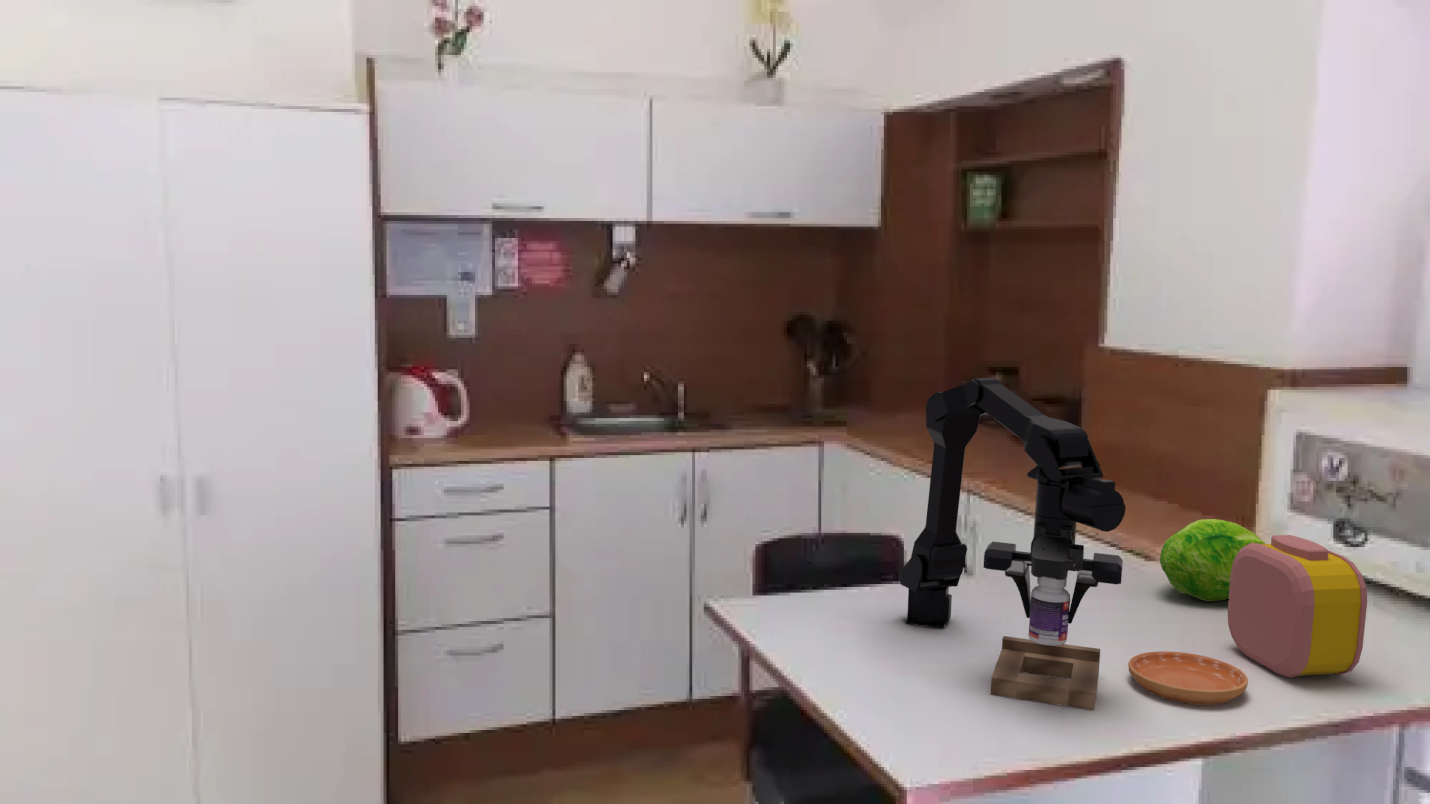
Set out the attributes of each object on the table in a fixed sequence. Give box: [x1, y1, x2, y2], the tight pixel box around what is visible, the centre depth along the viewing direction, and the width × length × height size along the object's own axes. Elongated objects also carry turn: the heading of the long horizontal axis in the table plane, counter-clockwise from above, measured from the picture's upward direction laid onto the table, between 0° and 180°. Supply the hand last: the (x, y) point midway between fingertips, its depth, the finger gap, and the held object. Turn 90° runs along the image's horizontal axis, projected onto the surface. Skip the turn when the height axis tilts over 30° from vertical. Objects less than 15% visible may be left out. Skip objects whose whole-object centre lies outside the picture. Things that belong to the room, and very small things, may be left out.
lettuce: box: [1159, 518, 1266, 602], centre depth 206 cm, size 15×23×16 cm
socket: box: [990, 635, 1101, 711], centre depth 163 cm, size 14×14×4 cm
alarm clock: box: [1227, 534, 1368, 679], centre depth 172 cm, size 18×11×19 cm, turn 9°
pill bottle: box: [1027, 577, 1071, 646], centre depth 162 cm, size 5×5×10 cm
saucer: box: [1127, 650, 1249, 706], centre depth 163 cm, size 16×16×3 cm
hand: (1048, 620), depth 162 cm, fingers closed on pill bottle, 5 cm apart
